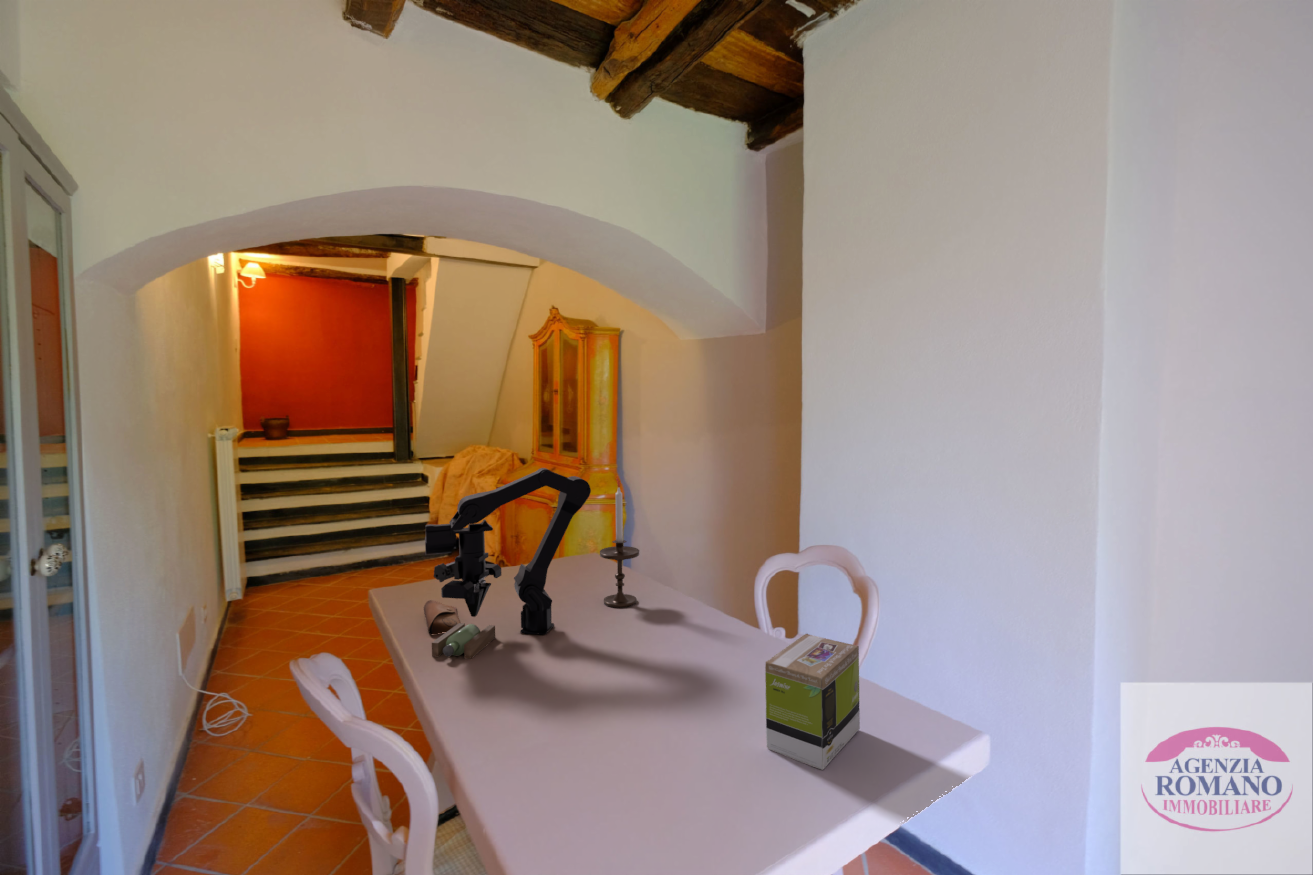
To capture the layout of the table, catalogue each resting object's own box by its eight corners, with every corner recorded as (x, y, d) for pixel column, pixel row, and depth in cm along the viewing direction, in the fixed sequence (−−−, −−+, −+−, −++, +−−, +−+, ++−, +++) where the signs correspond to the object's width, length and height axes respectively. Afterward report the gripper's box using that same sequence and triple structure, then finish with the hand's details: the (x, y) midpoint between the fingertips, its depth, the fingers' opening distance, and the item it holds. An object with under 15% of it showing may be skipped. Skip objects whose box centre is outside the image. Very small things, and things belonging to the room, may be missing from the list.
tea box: (805, 711, 109) (806, 630, 108) (861, 730, 103) (862, 644, 102) (763, 749, 98) (764, 659, 97) (823, 773, 91) (824, 676, 90)
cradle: (495, 637, 144) (495, 625, 144) (470, 658, 133) (470, 645, 132) (459, 635, 146) (459, 622, 146) (432, 655, 134) (431, 642, 134)
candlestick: (595, 599, 172) (593, 475, 170) (630, 594, 176) (629, 473, 174) (608, 611, 162) (606, 480, 160) (646, 605, 166) (644, 477, 164)
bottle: (483, 628, 141) (459, 645, 131) (478, 646, 141) (454, 664, 131) (465, 621, 141) (440, 637, 132) (460, 639, 142) (435, 656, 132)
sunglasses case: (466, 629, 150) (450, 608, 148) (440, 648, 147) (424, 627, 145) (456, 607, 166) (442, 588, 164) (433, 624, 164) (419, 605, 162)
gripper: (459, 540, 153) (461, 601, 154) (418, 559, 135) (420, 629, 136) (501, 541, 151) (503, 603, 152) (465, 561, 133) (467, 631, 134)
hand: (474, 616), depth 144 cm, fingers closed
